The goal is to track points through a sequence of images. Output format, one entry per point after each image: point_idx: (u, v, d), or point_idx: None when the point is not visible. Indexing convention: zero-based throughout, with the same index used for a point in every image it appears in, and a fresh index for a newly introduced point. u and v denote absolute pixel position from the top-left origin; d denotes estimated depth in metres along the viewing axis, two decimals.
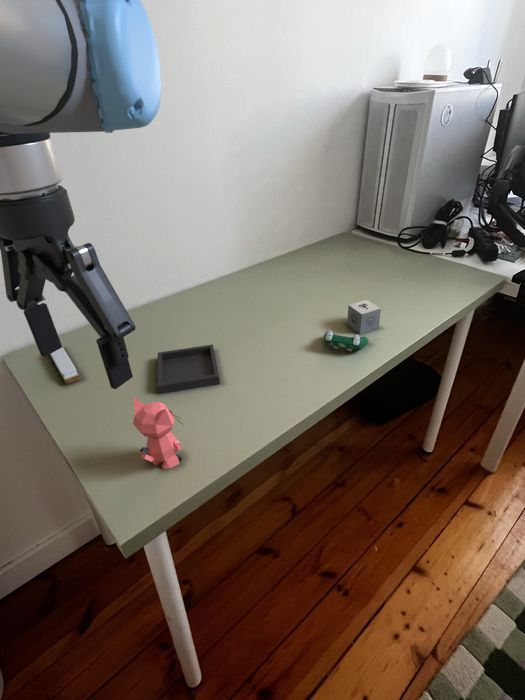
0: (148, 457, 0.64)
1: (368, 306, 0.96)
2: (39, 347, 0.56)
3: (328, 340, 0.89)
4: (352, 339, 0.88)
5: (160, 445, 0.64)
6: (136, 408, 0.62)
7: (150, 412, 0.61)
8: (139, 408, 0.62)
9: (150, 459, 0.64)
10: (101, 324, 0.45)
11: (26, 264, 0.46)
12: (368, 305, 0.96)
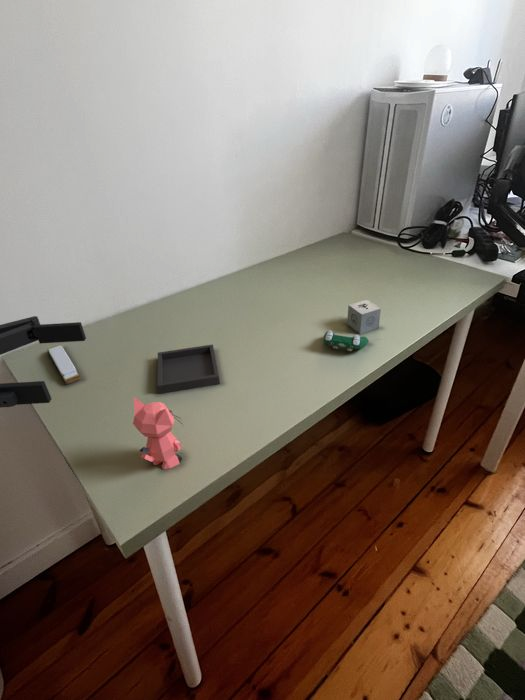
0: (148, 457, 0.64)
1: (368, 306, 0.96)
2: (30, 383, 0.50)
3: (328, 340, 0.89)
4: (352, 339, 0.88)
5: (160, 445, 0.64)
6: (136, 408, 0.62)
7: (150, 412, 0.61)
8: (139, 408, 0.62)
9: (150, 459, 0.64)
10: None
11: None
12: (368, 305, 0.96)
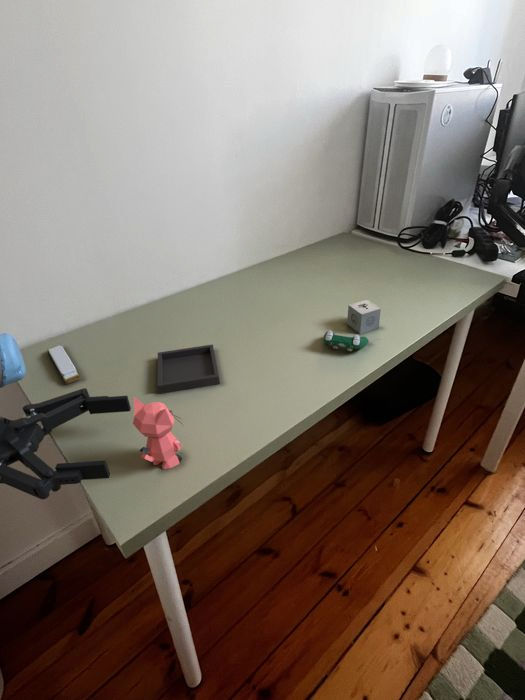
0: (148, 457, 0.64)
1: (368, 306, 0.96)
2: (94, 462, 0.58)
3: (328, 340, 0.89)
4: (352, 339, 0.88)
5: (160, 445, 0.64)
6: (136, 408, 0.62)
7: (150, 412, 0.61)
8: (139, 408, 0.62)
9: (150, 459, 0.64)
10: None
11: (16, 437, 0.62)
12: (368, 305, 0.96)
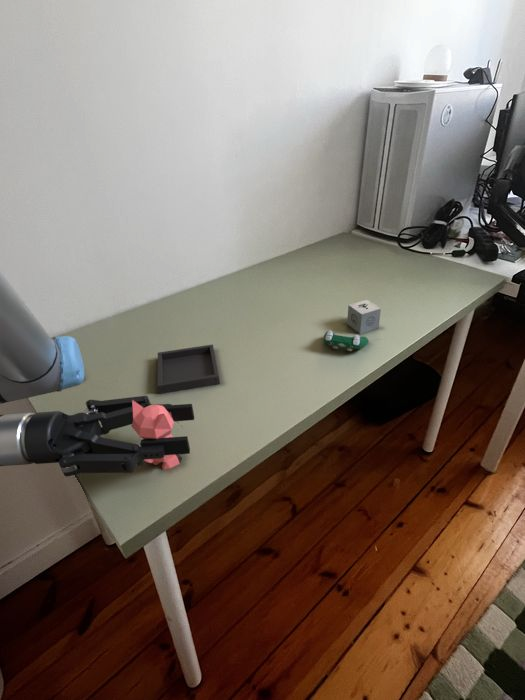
0: (148, 459, 0.64)
1: (368, 306, 0.96)
2: (176, 438, 0.61)
3: (328, 340, 0.89)
4: (352, 339, 0.88)
5: None
6: (135, 411, 0.62)
7: (149, 416, 0.60)
8: (137, 411, 0.62)
9: (150, 460, 0.64)
10: None
11: (78, 430, 0.62)
12: (368, 305, 0.96)
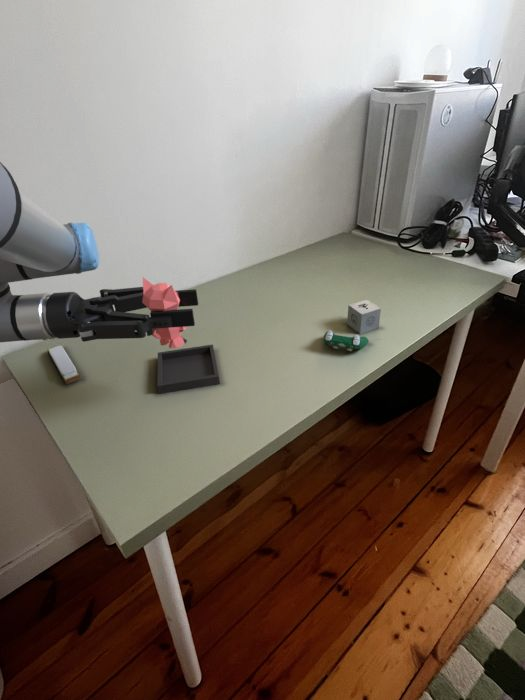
0: (156, 334, 0.71)
1: (368, 306, 0.96)
2: (183, 310, 0.67)
3: (328, 340, 0.89)
4: (352, 339, 0.88)
5: None
6: (145, 287, 0.68)
7: (157, 289, 0.67)
8: (147, 287, 0.68)
9: (158, 336, 0.71)
10: None
11: (94, 305, 0.69)
12: (368, 305, 0.96)
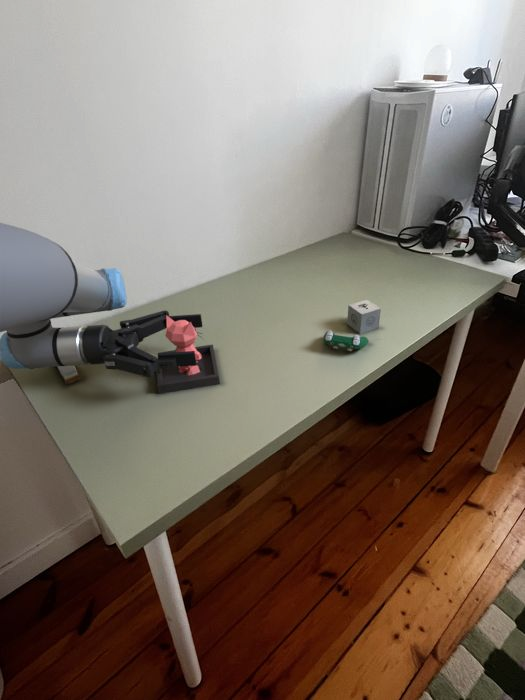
0: None
1: (368, 306, 0.96)
2: (186, 352, 0.77)
3: (328, 340, 0.89)
4: (352, 339, 0.88)
5: None
6: (168, 323, 0.82)
7: (179, 325, 0.80)
8: (170, 323, 0.82)
9: None
10: None
11: (122, 338, 0.81)
12: (368, 305, 0.96)
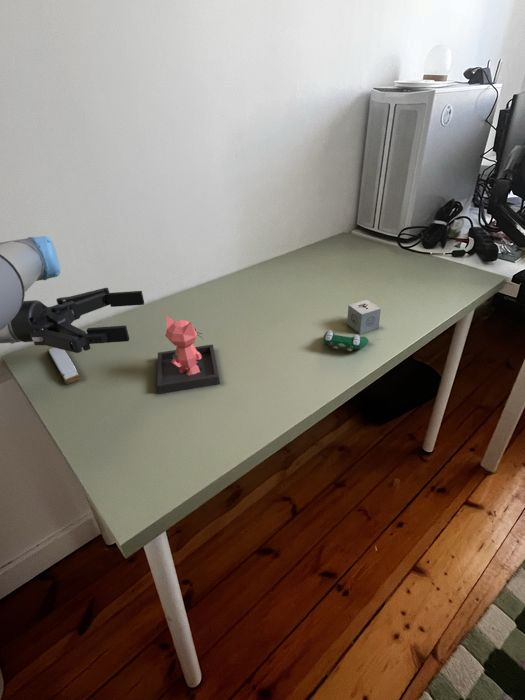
0: (176, 363, 0.83)
1: (368, 306, 0.96)
2: (117, 326, 0.73)
3: (328, 340, 0.89)
4: (352, 339, 0.88)
5: (185, 354, 0.83)
6: (168, 323, 0.82)
7: (179, 325, 0.80)
8: (170, 323, 0.82)
9: (178, 365, 0.84)
10: None
11: (54, 313, 0.77)
12: (368, 305, 0.96)
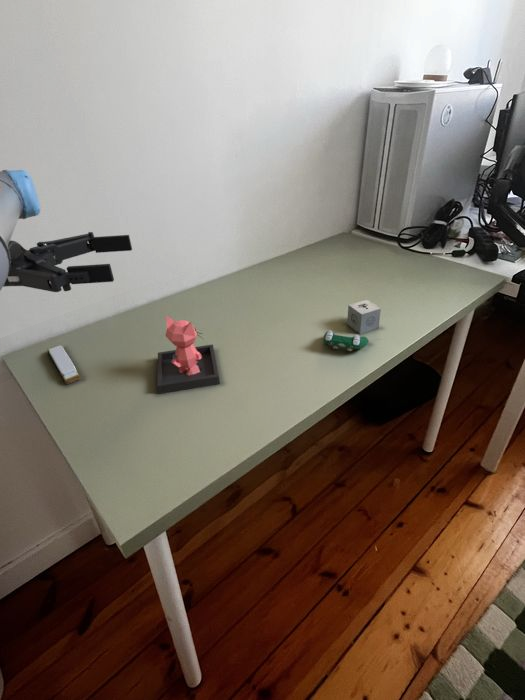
0: (176, 363, 0.83)
1: (368, 306, 0.96)
2: (100, 265, 0.67)
3: (328, 340, 0.89)
4: (352, 339, 0.88)
5: (185, 354, 0.83)
6: (168, 323, 0.82)
7: (179, 325, 0.80)
8: (170, 323, 0.82)
9: (178, 365, 0.84)
10: None
11: (32, 254, 0.71)
12: (368, 305, 0.96)
